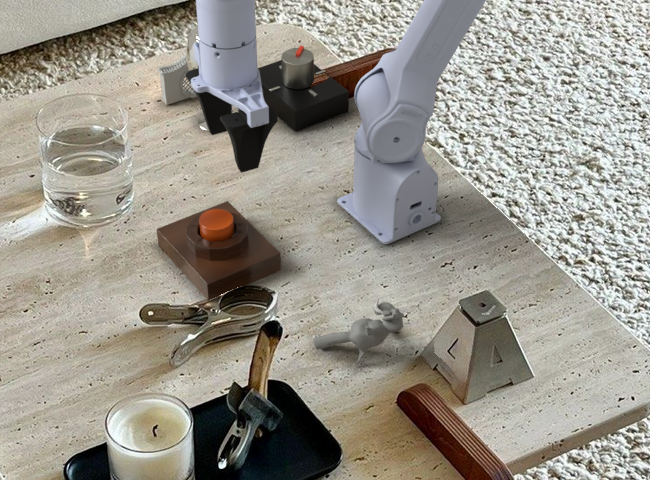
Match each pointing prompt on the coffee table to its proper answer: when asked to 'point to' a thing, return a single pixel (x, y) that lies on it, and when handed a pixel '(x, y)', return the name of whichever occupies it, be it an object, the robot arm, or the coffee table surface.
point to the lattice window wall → (175, 81)
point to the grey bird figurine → (366, 330)
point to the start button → (216, 225)
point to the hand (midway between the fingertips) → (233, 149)
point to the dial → (297, 68)
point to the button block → (219, 254)
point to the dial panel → (303, 98)
